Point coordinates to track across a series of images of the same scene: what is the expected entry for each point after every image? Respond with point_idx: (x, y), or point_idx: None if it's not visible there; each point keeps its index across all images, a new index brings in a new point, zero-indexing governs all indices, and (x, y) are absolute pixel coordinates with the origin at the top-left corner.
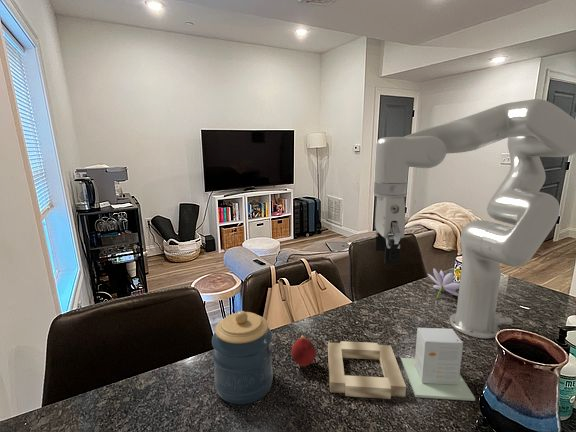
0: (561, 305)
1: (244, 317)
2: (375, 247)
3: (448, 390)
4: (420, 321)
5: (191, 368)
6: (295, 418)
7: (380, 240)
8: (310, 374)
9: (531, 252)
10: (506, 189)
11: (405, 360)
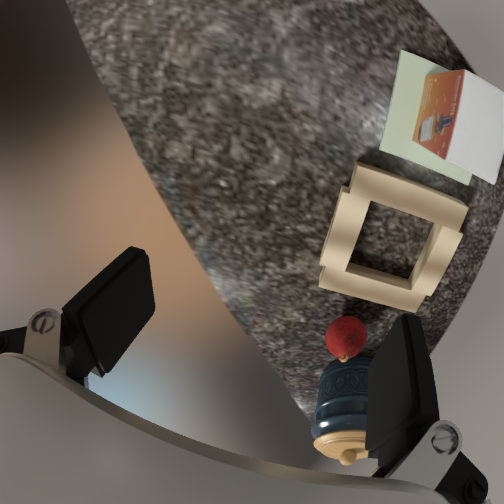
0: None
1: (354, 459)
2: (142, 324)
3: None
4: (229, 29)
5: (312, 406)
6: (428, 342)
7: (113, 341)
8: (369, 314)
9: None
10: None
11: (389, 145)
